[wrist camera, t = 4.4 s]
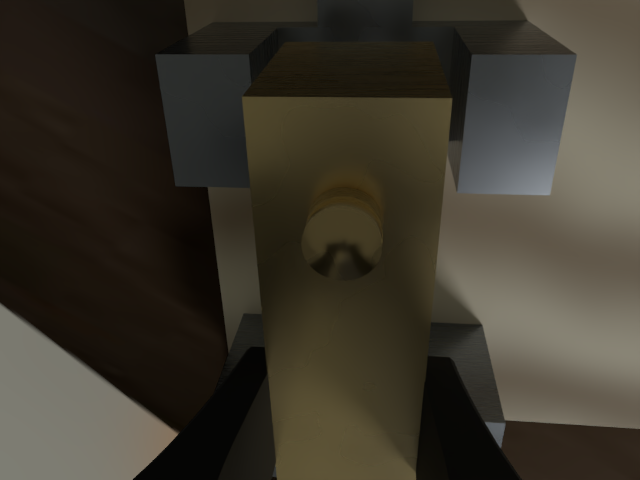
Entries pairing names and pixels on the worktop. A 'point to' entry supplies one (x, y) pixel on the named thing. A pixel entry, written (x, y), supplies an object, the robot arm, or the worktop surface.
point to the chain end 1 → (379, 26)
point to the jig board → (518, 224)
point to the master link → (347, 248)
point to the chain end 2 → (444, 341)
